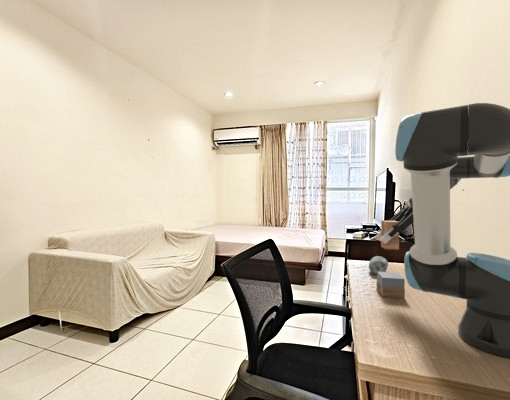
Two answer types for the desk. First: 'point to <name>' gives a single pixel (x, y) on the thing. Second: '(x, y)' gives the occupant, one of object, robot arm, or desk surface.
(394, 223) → the tall block
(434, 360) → the desk surface
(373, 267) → the spool
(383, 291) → the bottom slab
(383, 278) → the top slab
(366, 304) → the desk surface
